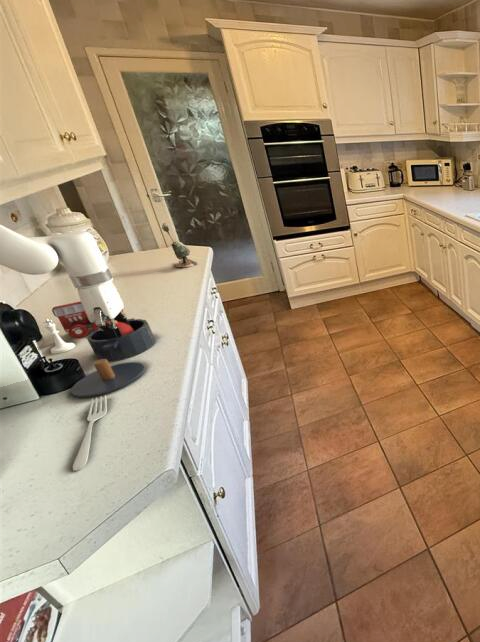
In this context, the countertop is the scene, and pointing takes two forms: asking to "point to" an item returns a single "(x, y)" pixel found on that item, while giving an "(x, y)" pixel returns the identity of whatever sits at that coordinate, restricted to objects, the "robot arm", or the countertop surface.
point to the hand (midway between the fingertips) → (120, 335)
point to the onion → (124, 328)
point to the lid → (107, 378)
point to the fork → (89, 434)
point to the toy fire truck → (75, 319)
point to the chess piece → (57, 339)
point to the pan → (123, 342)
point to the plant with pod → (180, 251)
